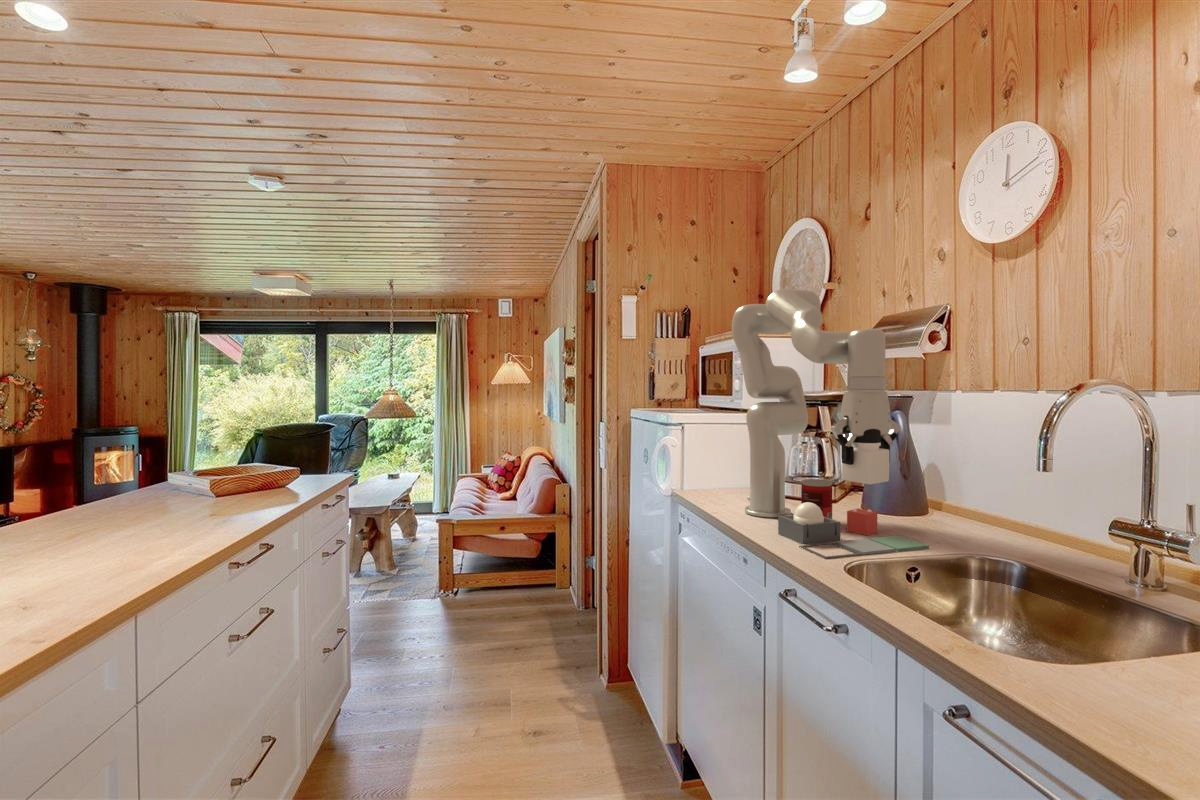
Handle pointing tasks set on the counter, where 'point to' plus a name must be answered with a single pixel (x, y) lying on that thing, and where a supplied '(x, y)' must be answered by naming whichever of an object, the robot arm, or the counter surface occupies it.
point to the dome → (808, 513)
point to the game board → (871, 546)
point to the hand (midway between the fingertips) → (865, 462)
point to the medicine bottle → (868, 460)
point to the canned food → (818, 494)
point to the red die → (862, 521)
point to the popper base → (809, 530)
